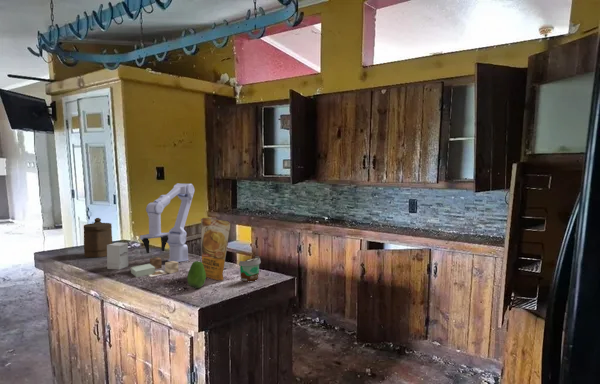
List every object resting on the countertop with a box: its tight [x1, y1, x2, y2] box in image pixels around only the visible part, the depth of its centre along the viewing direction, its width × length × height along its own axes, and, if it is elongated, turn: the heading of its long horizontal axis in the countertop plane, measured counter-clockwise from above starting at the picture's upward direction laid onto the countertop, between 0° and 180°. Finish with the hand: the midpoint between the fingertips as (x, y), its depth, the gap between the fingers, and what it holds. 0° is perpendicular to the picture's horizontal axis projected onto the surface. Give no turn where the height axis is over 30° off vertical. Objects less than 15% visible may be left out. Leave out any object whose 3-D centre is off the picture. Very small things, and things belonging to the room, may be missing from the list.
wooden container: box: [83, 217, 113, 259], centre depth 219 cm, size 15×15×22 cm
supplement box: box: [106, 242, 129, 271], centre depth 192 cm, size 7×7×13 cm
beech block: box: [164, 261, 179, 275], centre depth 185 cm, size 4×4×5 cm
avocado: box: [186, 260, 207, 289], centre depth 162 cm, size 8×8×12 cm
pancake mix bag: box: [200, 217, 232, 281], centre depth 177 cm, size 7×19×28 cm, turn 52°
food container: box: [238, 255, 262, 283], centre depth 173 cm, size 12×6×10 cm, turn 148°
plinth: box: [130, 263, 156, 278], centre depth 182 cm, size 9×9×3 cm
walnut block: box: [149, 256, 163, 270], centre depth 192 cm, size 4×4×5 cm
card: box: [148, 269, 168, 278], centre depth 183 cm, size 8×8×1 cm
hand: (155, 251), depth 192 cm, fingers open, 7 cm apart
